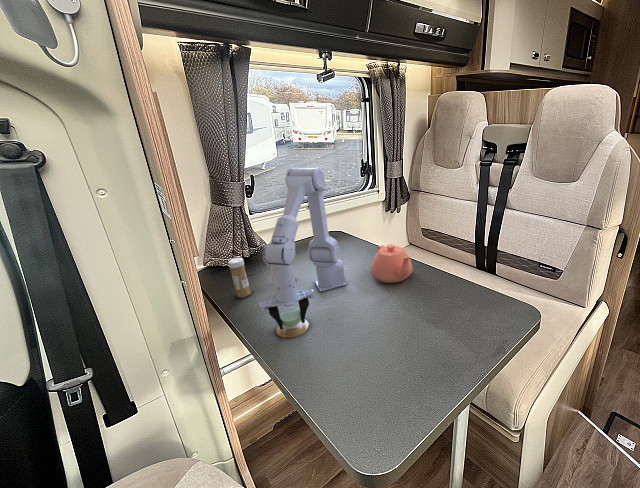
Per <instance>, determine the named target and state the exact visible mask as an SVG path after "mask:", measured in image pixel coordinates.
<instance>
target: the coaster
mask: <svg viewBox="0 0 640 488" xmlns="http://www.w3.org/2000/svg"><path fill="white" fill-rule="evenodd" d="M282 326H283V325H282ZM309 326H310V325H309V321H308V320H307V318H305V323H302V321H301V322H300V323H298V324H297V325H295V326H291V327H286V326H283V329H282V330H280V327H279V325H278V326H277V327H276V335H277V336H278V337H279V338H282V339H293V338H296V337H299V336H301V335H303V334H304V333H305V332H307V330H308V329H309V328H310V327H309Z"/></svg>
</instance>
